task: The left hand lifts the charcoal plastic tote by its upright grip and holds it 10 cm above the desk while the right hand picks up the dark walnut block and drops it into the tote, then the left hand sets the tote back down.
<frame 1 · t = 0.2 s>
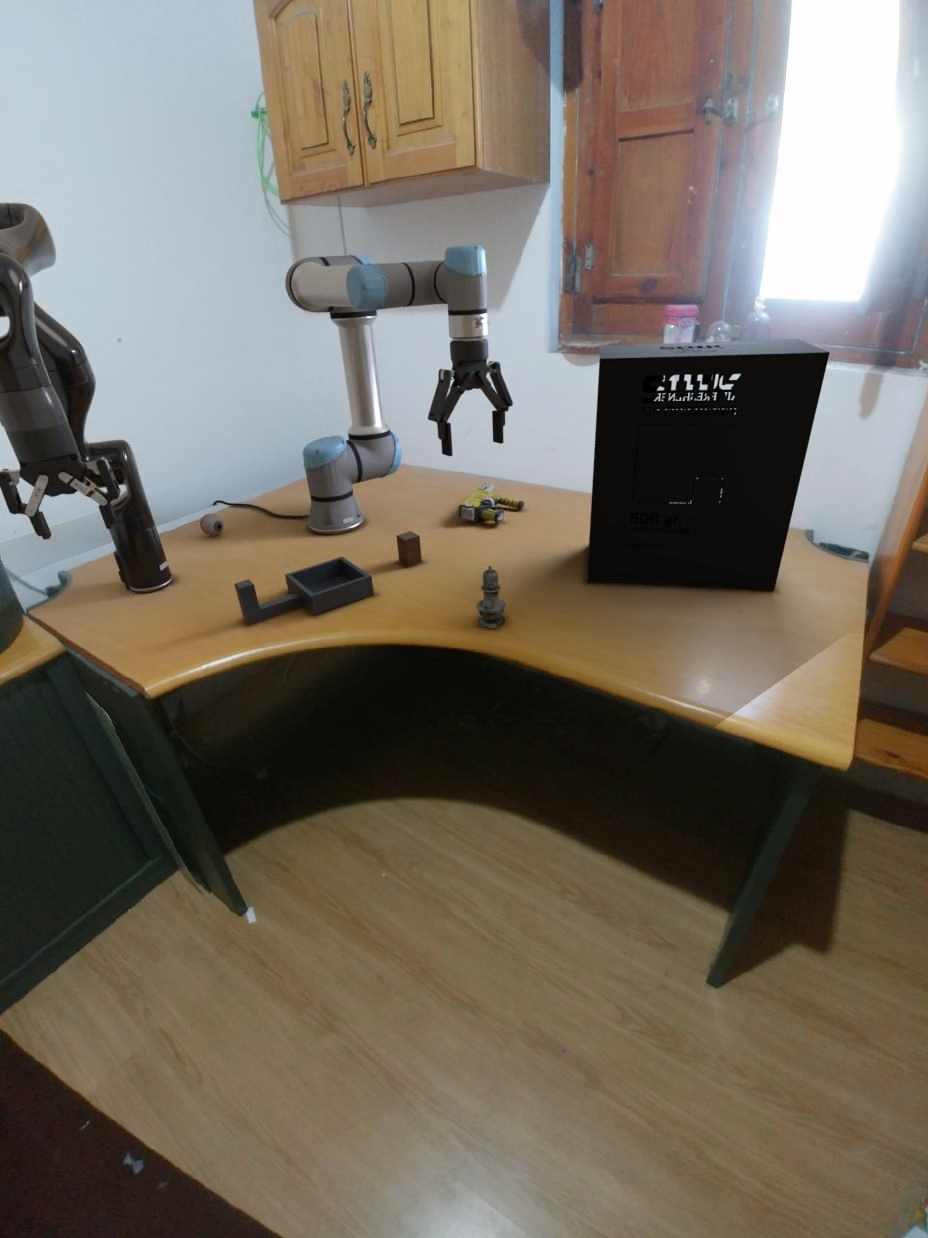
left hand: (79, 532, 91), 29 cm above the table, fingers open, 8 cm apart
right hand: (473, 448, 128), 27 cm above the table, fingers open, 13 cm apart
cardboard box: (673, 566, 136), on the table
walnut block: (410, 562, 145), on the table
toy gun: (495, 511, 173), on the table
tote: (331, 594, 133), on the table
grey tall tiered piece: (491, 621, 119), on the table
eyeball: (215, 535, 167), on the table
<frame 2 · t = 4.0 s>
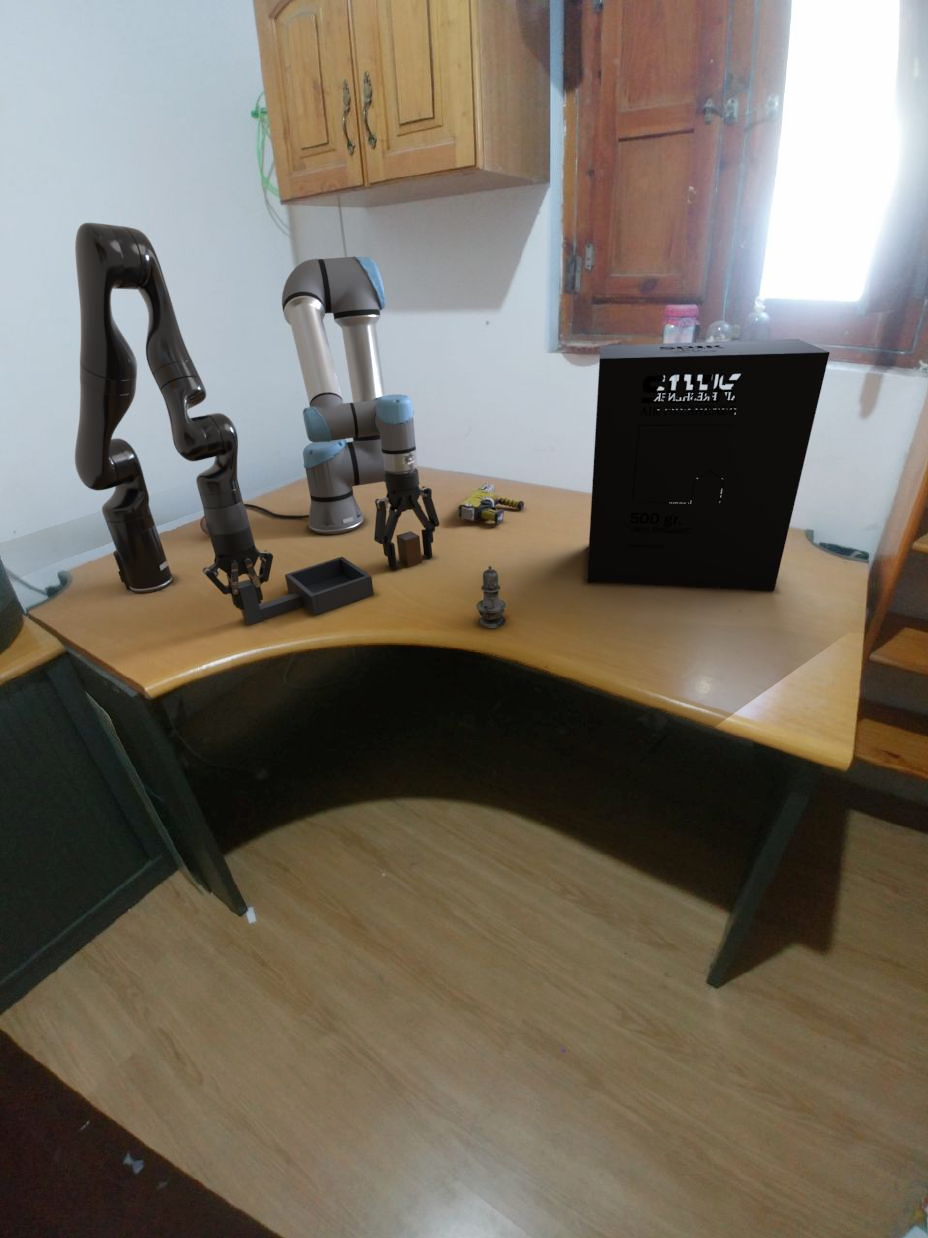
left hand: (249, 605, 122), 4 cm above the table, fingers closed on tote, 3 cm apart
right hand: (410, 561, 145), 0 cm above the table, fingers open, 9 cm apart
tote: (330, 593, 133), on the table, touching left hand
everything else where it was.
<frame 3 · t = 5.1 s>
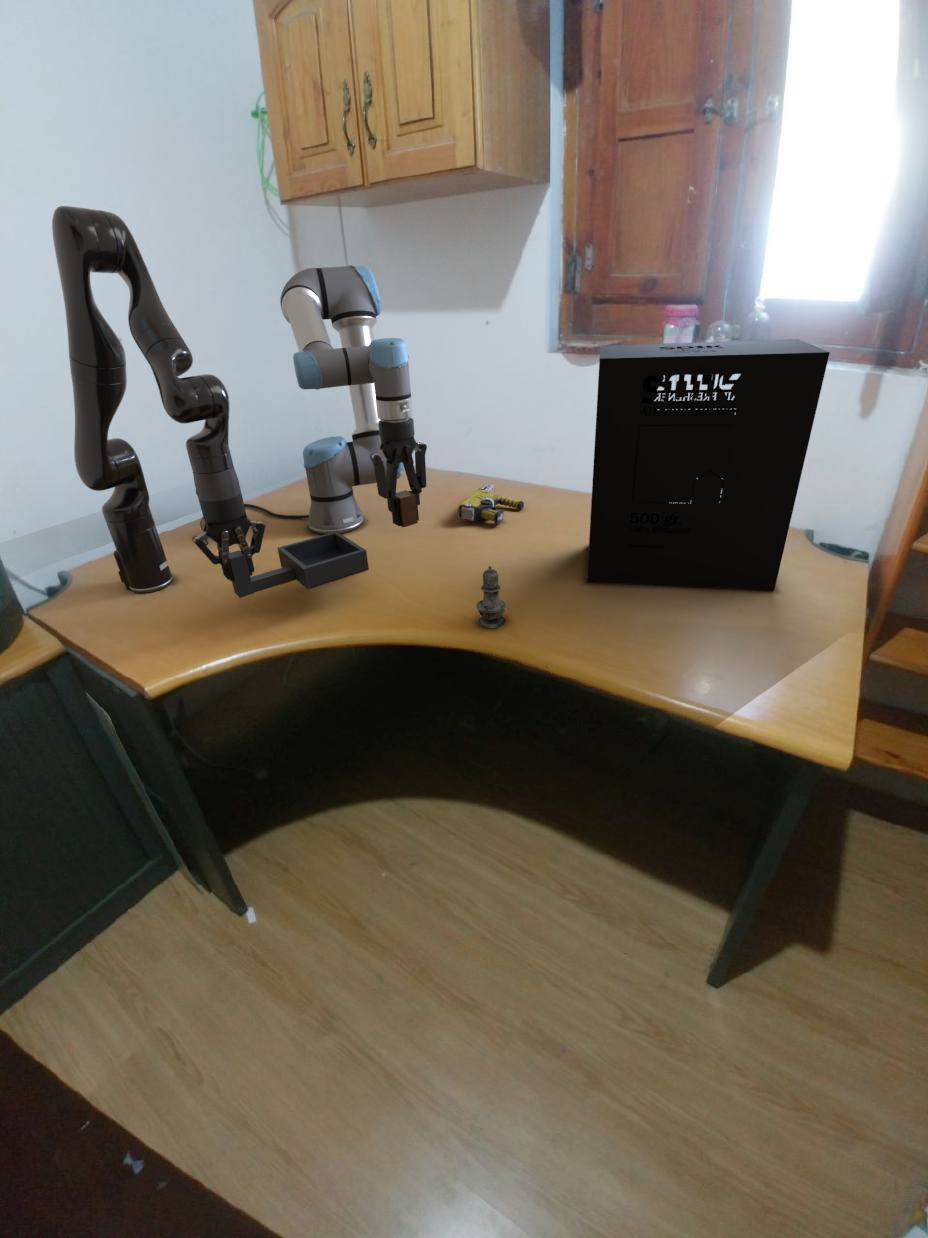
left hand: (240, 576, 119), 10 cm above the table, fingers closed on tote, 3 cm apart
right hand: (405, 521, 140), 10 cm above the table, fingers closed on walnut block, 4 cm apart
walnut block: (406, 522, 141), point 10 cm above the table, touching right hand
tote: (324, 568, 130), point 6 cm above the table, touching left hand
everything else where it was.
when the right hand's fingers open (20 cm above the table, at t = 8.9 s): walnut block drops 9 cm, resting on tote.
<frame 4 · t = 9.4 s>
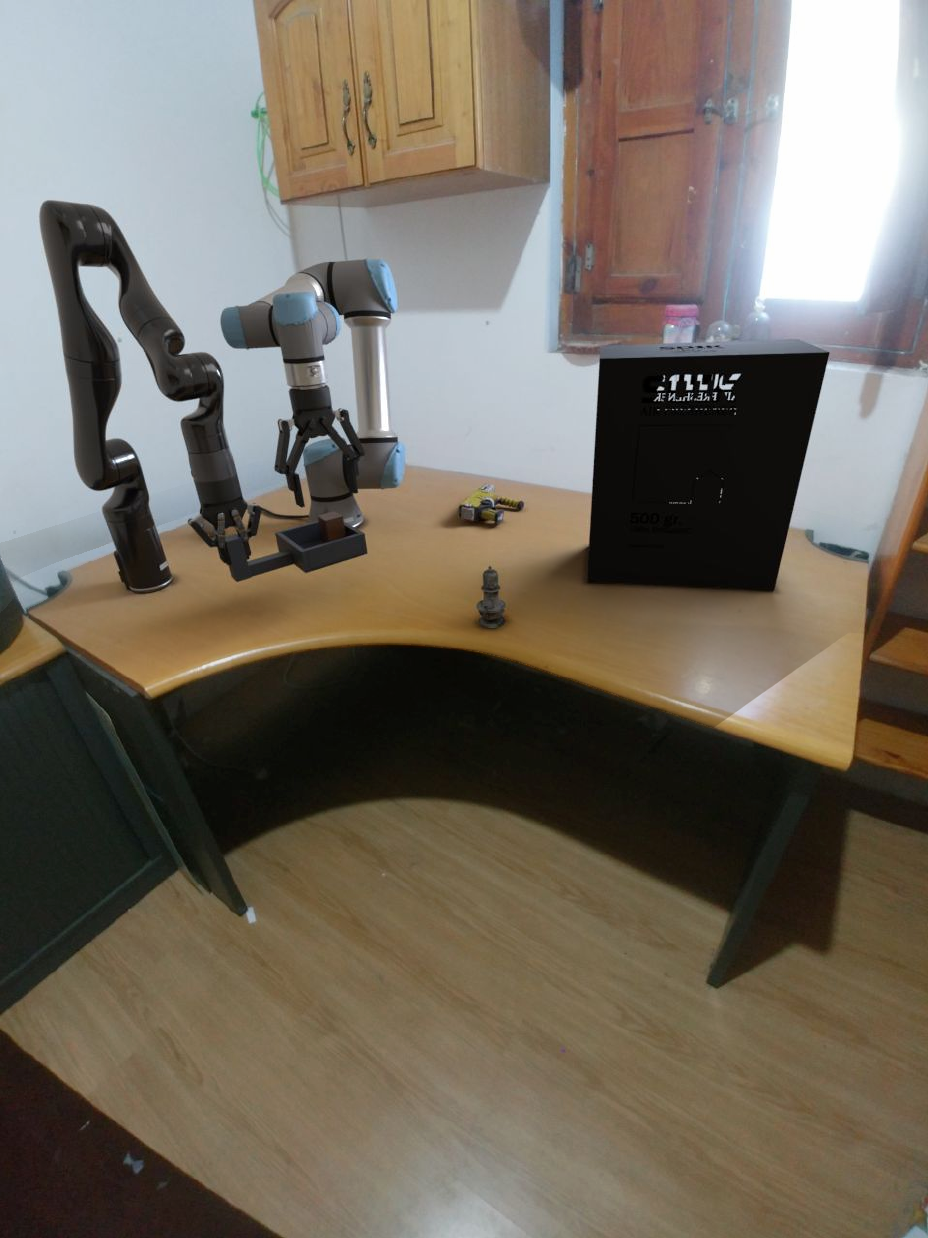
left hand: (237, 560, 117), 14 cm above the table, fingers closed on tote, 3 cm apart
right hand: (327, 498, 124), 21 cm above the table, fingers open, 11 cm apart
walnut block: (335, 546, 129), point 10 cm above the table, touching tote
tote: (322, 553, 128), point 10 cm above the table, touching left hand, walnut block
everything else where it was.
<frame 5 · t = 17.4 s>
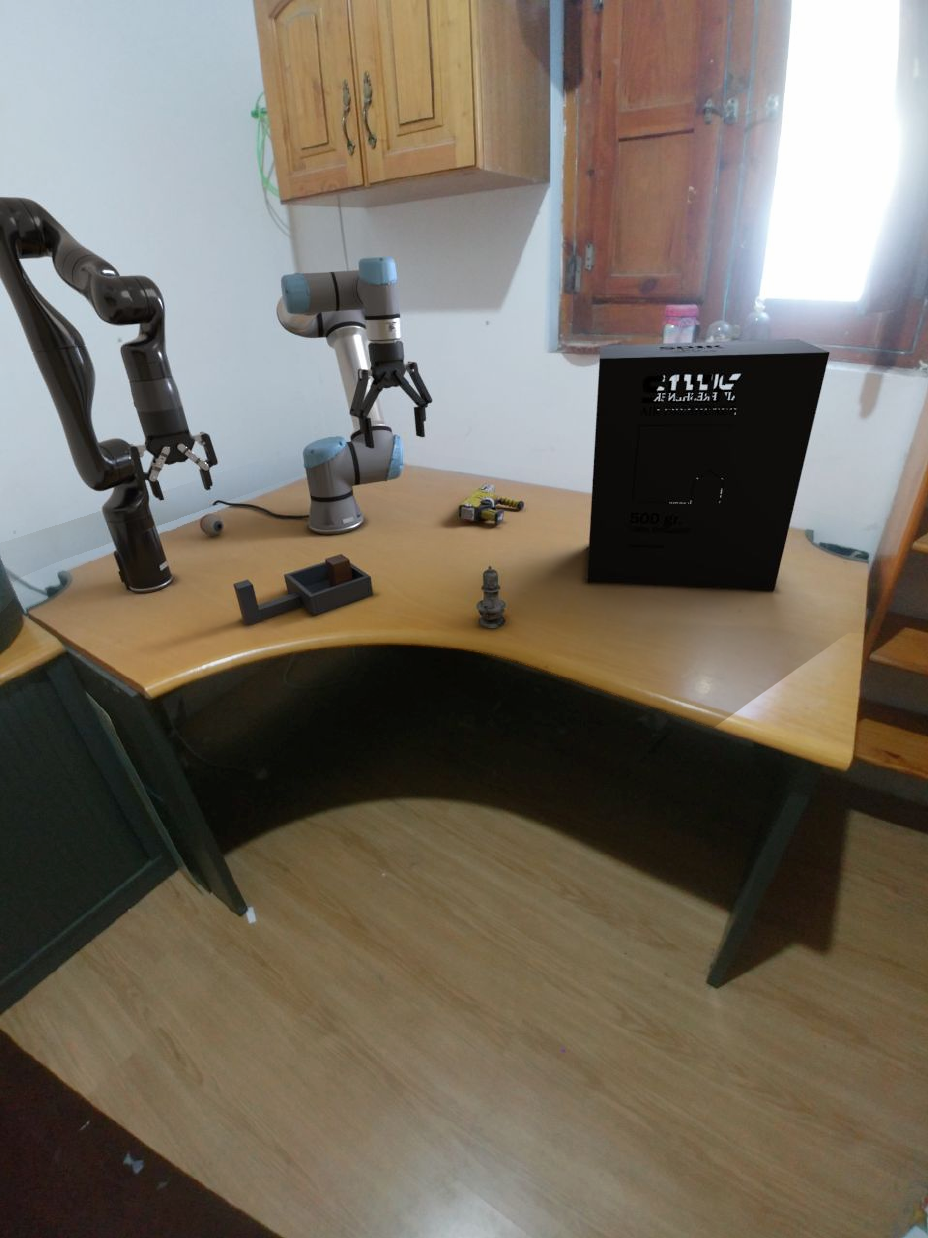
left hand: (185, 494, 115), 26 cm above the table, fingers open, 8 cm apart
right hand: (395, 441, 139), 27 cm above the table, fingers open, 13 cm apart
walnut block: (342, 587, 134), point 1 cm above the table, touching tote
tote: (330, 594, 133), on the table, touching walnut block
everything else where it was.
at the end: walnut block inside the target area on the tote (2.9 cm from its centre), point 0.6 cm above the tote's base; tote on the table; the left hand is holding nothing; the right hand is holding nothing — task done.
